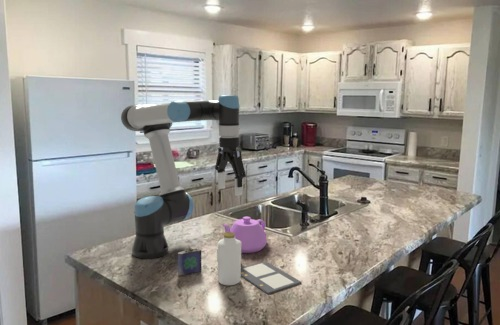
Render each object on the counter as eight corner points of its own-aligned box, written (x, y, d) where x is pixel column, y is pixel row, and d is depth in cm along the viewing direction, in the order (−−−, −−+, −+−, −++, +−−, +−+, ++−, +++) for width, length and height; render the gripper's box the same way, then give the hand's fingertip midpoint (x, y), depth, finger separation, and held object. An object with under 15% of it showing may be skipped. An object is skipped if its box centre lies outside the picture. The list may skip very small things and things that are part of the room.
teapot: (252, 236, 198) (252, 208, 195) (278, 246, 185) (279, 217, 182) (209, 248, 182) (209, 218, 179) (235, 260, 168) (235, 228, 166)
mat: (267, 294, 141) (267, 292, 140) (233, 271, 159) (233, 269, 158) (301, 283, 149) (301, 281, 149) (265, 262, 167) (265, 261, 167)
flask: (179, 277, 153) (178, 249, 151) (176, 274, 156) (176, 247, 154) (202, 272, 157) (202, 245, 155) (199, 269, 160) (199, 243, 158)
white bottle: (217, 276, 154) (217, 230, 151) (240, 276, 154) (240, 230, 151) (217, 287, 146) (217, 238, 143) (241, 286, 146) (241, 237, 143)
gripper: (255, 138, 146) (255, 197, 150) (222, 133, 167) (223, 185, 171) (236, 140, 142) (237, 200, 146) (206, 134, 164) (207, 187, 167)
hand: (229, 192), depth 158 cm, fingers open, 13 cm apart
